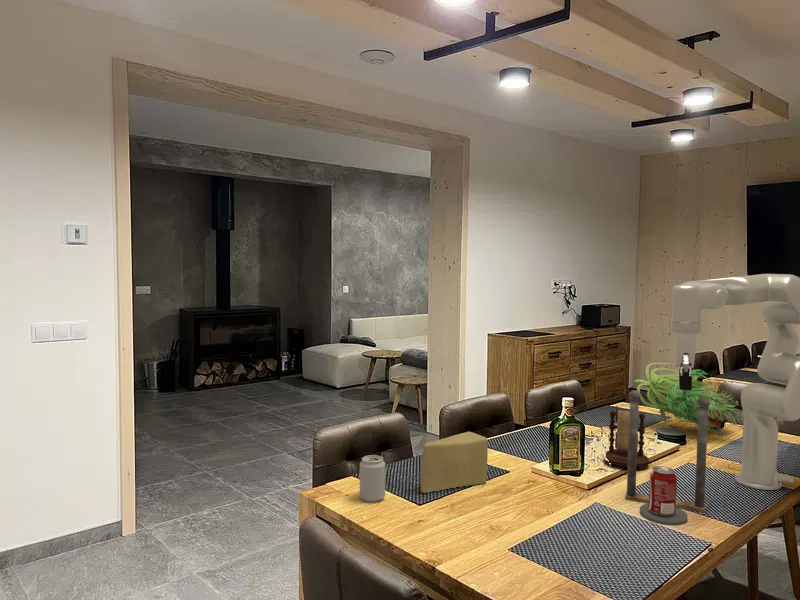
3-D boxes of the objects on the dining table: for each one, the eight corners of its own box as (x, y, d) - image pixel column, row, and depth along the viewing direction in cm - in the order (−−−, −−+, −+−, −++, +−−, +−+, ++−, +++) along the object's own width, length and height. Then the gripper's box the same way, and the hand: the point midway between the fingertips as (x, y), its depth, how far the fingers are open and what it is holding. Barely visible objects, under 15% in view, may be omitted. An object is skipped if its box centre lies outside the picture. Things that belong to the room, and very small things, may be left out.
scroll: (601, 467, 204) (603, 409, 203) (604, 454, 218) (606, 400, 216) (648, 474, 198) (650, 413, 197) (648, 460, 212) (650, 404, 211)
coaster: (687, 511, 169) (687, 507, 169) (687, 528, 158) (687, 524, 158) (641, 503, 174) (641, 500, 174) (638, 519, 163) (638, 516, 163)
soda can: (678, 518, 162) (680, 474, 161) (651, 516, 163) (653, 472, 162) (671, 508, 168) (673, 466, 167) (645, 506, 169) (647, 464, 169)
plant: (766, 429, 224) (671, 379, 223) (701, 476, 246) (614, 431, 245) (749, 367, 251) (664, 323, 250) (693, 415, 273) (614, 374, 272)
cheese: (431, 499, 176) (432, 449, 175) (412, 488, 184) (412, 440, 183) (488, 484, 189) (489, 436, 188) (467, 474, 197) (468, 429, 196)
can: (389, 495, 178) (389, 455, 178) (378, 505, 172) (378, 463, 171) (367, 491, 181) (367, 452, 181) (354, 500, 175) (354, 459, 174)
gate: (705, 508, 171) (710, 396, 169) (705, 512, 168) (710, 398, 166) (625, 495, 180) (629, 388, 178) (624, 499, 177) (628, 391, 175)
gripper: (671, 323, 183) (671, 379, 185) (671, 331, 168) (670, 391, 169) (699, 324, 180) (698, 380, 182) (701, 332, 164) (700, 393, 166)
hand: (685, 386), depth 175 cm, fingers open, 9 cm apart
